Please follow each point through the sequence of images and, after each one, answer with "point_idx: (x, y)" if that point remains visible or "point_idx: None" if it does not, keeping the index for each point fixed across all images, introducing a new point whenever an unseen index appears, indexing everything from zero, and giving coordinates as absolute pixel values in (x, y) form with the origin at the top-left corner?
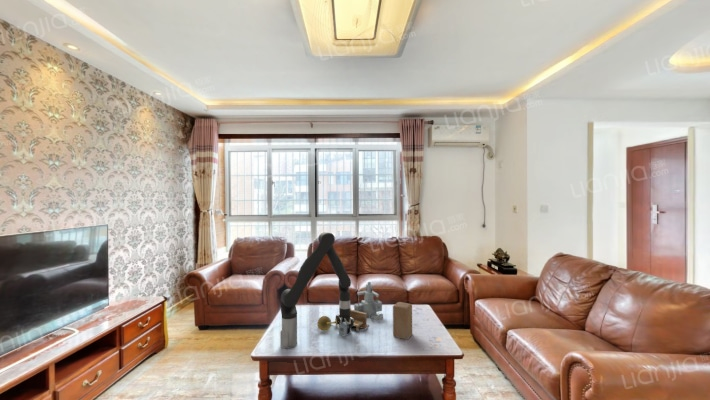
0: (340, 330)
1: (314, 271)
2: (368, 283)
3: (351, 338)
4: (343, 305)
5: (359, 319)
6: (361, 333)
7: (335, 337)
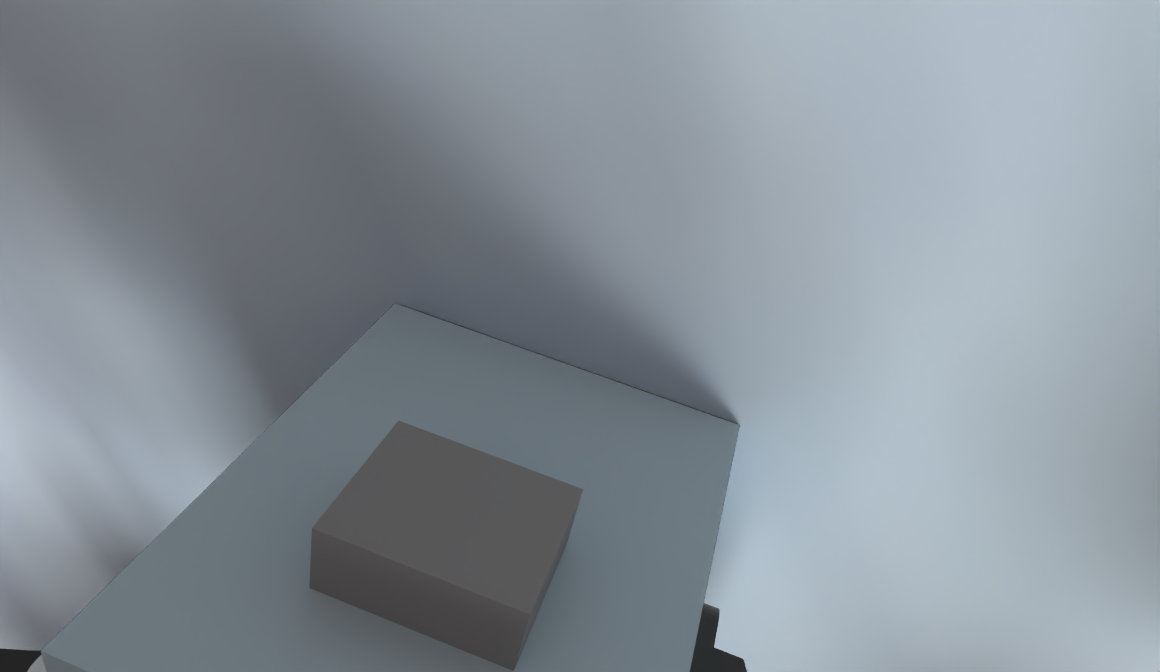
0: (540, 490)
1: None
2: None
3: (66, 154)
4: None
5: None
6: (54, 546)
7: (821, 44)
